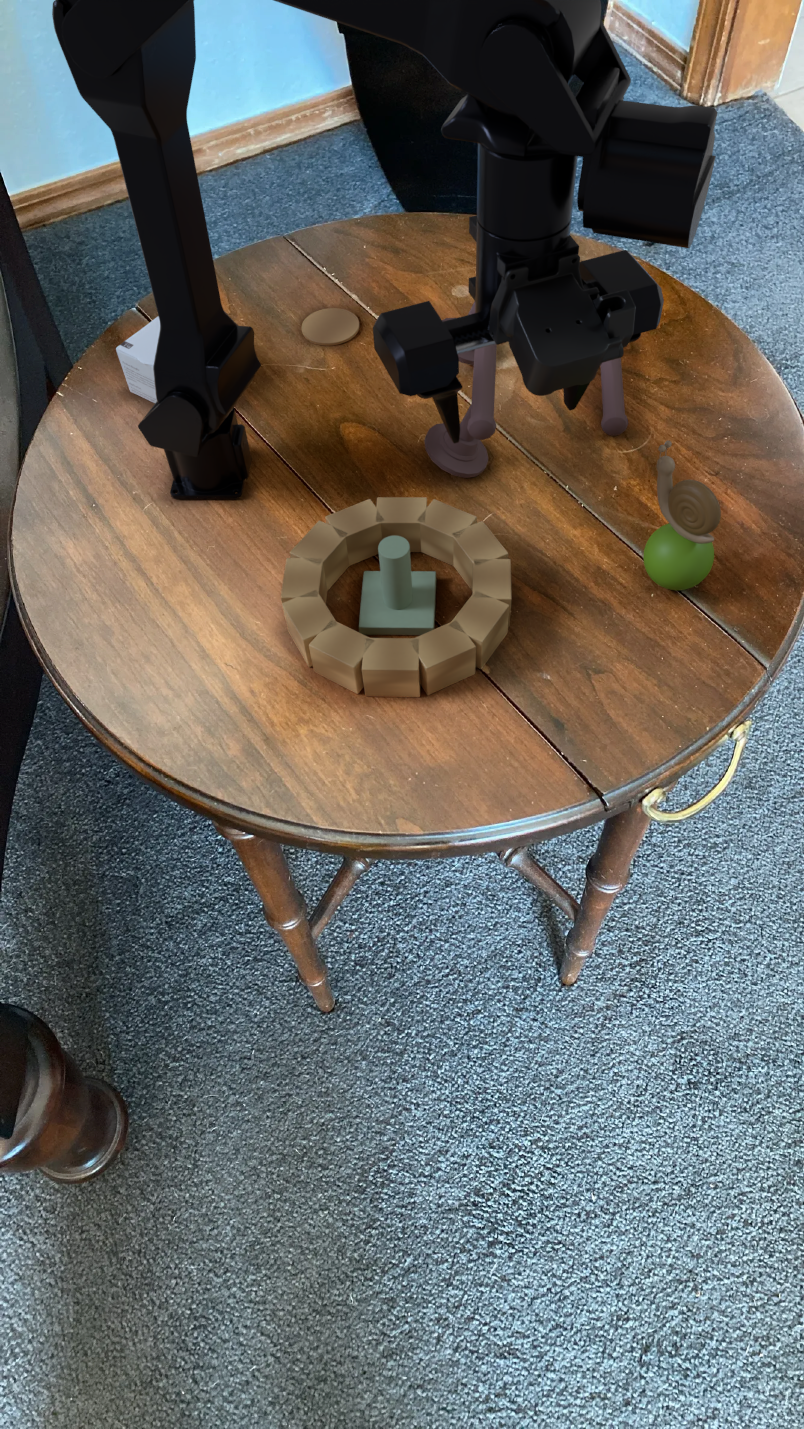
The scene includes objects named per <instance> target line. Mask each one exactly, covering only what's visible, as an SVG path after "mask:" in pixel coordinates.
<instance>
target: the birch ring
mask: <svg viewBox="0 0 804 1429" xmlns="http://www.w3.org/2000/svg"><path fill="white" fill-rule="evenodd" d="M324 519H325V522H324V521H323V520H318V521H317V522H316V523H315V524H314V525H313V526H312V527H311V529H309V531H308V532H306V533H305V535H304V536H303V537H302V538H301V539H300V540H299V541H298V542H297V544H296V545H295V546H294V547H292V549H291V550H290V551H289V556H290V557H286V560H285V565H284V573H283V579H282V585H281V590H280V591H281V592H280V602H281V607H282V611H283V617H284V620H285V624H286V628H287V632H288V633H289V635H290V637H291V639H292V641H293V642H294V644H295V646H296V648H297V649H298V651H299V653H300V655H301V657H302V658H303V660H304V662H305V664H306V666H307V667H308V668H311V667H312V668H313V672H314V673H316V674H317V675H319V676H321V677H323V678H325V679H327V680H329V681H331V682H333V683H335V684H337V685H339V686H341V687H343V688H345V689H347V690H348V691H351V692H353V693H354V694H357V695H359V694H360V693H361V691H362V690H363V689H364V695H365V697H385V698H387V697H390V698H391V697H392V698H395V697H396V698H420V697H421V687H422V689H423V691H424V693H425V694H426V695H427V696H430V695H432V694H435V693H436V692H439V691H441V690H443V689H445V688H447V687H450V686H452V685H454V684H456V683H459V682H461V681H463V680H465V679H467V678H469V677H472V676H474V675H476V668H477V669H479V670H482V669H483V667H484V666H485V665H486V663H487V662H488V661H489V659H490V658H491V657H492V655H493V654H494V652H495V651H496V649H497V648H498V647H499V646H500V644H501V643H502V642H503V640H504V639H505V637H506V636H507V634H508V631H509V630H508V629H509V628H510V624H511V613H512V612H511V611H512V559H511V558H509V551H508V550H507V549H506V548H505V547H504V546H503V544H502V543H501V541H499V539H498V538H497V537H496V535H494V533H493V532H492V530H491V529H490V528H489V527H488V525H487V524H486V523H485V521H483V520H480V521H478V516H477V515H474V514H472V513H469V512H467V511H465V510H463V509H460V508H457V507H455V506H452V505H450V504H447V503H445V502H443V501H440V500H438V499H436V498H434V499H432V500H431V502H430V503H429V504H428V497H426V496H425V497H423V496H421V497H418V496H417V497H415V496H413V497H411V496H407V497H406V496H405V497H404V496H400V497H399V496H395V497H394V496H384V497H382V496H380V497H378V496H377V497H376V505H375V504H374V502H373V501H372V499H371V498H368V499H366V500H363V501H361V502H358V503H356V504H353V505H350V506H348V507H346V508H343V509H341V510H340V509H339V510H338V511H336V512H332V513H330V514H328V515H326V516H324ZM388 536H401V537H403V538H405V539H406V540H407V541H408V542H409V545H410V553H422V554H425V555H427V556H429V557H431V558H434V559H436V560H438V561H441V562H443V563H445V564H448V565H450V566H452V567H454V569H455V570H456V571H457V573H458V574H459V576H460V577H461V578H462V579H463V581H464V582H465V583H466V585H467V586H468V588H469V589H470V591H471V593H472V594H471V596H470V597H469V598H468V599H467V601H466V602H465V603H464V605H463V606H462V607H461V609H460V610H459V611H458V613H457V614H456V615H455V617H454V618H453V619H452V620H451V621H450V622H448V623H445V624H443V625H441V626H439V627H437V628H434V630H432V631H429V632H427V633H425V634H423V635H417V636H416V637H412V638H411V637H369V636H368V635H363V634H361V633H359V631H357V630H356V629H353V628H351V627H349V626H347V625H345V624H342V623H340V622H338V621H337V620H336V618H335V617H334V615H333V614H332V611H331V610H330V608H329V607H328V606H327V599H328V591H329V590H330V589H331V588H332V587H333V585H334V584H335V583H336V582H337V581H338V580H339V579H340V577H342V575H343V574H344V573H345V572H346V570H347V569H348V568H349V567H351V566H352V565H353V566H354V565H355V564H358V563H360V562H362V561H365V560H367V559H370V558H372V557H375V556H376V555H379V551H378V546H379V543H380V542H381V541H382V540H383V539H384V538H386V537H388Z"/></svg>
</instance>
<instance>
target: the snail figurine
mask: <svg viewBox="0 0 804 1429" xmlns="http://www.w3.org/2000/svg"><path fill="white" fill-rule="evenodd" d="M672 445H673V443H672V441H671V440H666V441H665V442H664V444H660V445H659V447H658V450H657V451H658V452H659V458H658V459H657V461H656V462H657V463H656V471H657V477H656V478H657V479H656V493H657V501H658V506H659V510H660V512H661V515H662V516H663V517H664V519H665V520H666V521H667V522H668V523H666V524H663V525H661V526H660V527H659V528H657V529H656V530H654V532H653V533H651V535H650V536H649V538H648V539H647V541H646V544H645V545H644V549H643V555H642V556H643V558H642V560H643V565H644V568H645V571H646V573H647V575H648V577H649V578H650V580H652V581H653V582H654V583H655V584H656V585H658V586H659V587H661V588H663V589H666V590H669V591H685V590H688V589H692V588H693V587H696V586H697V585H699V584H700V583H701V582H703V581H704V580H705V579H706V577H707V576H708V575H709V573H711V570H712V568H713V565H714V562H715V561H714V560H715V548H714V544H713V542H714V541H715V537H714V536H713V535H712V534H711V533H712V532H714V531H715V530H716V529H717V528H718V526H719V525H720V521H721V517H722V511H721V510H722V509H721V505H720V501H719V500H718V498H717V496H716V495H715V492H713V490H712V489H711V488H710V487H709V486H707V485H706V484H705V483H703V482H701V481H699V480H695V479H684V480H683V479H682V480H681V481H678V482H677V483H675V485H674V483H673V482H674V480H673V473H674V471H675V469H676V462H675V460H674V459H673V457H672V456H669V455H667V451H668V449H670V448H671V447H672ZM662 453H664V455H662Z"/></svg>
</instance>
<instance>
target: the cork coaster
mask: <svg viewBox="0 0 804 1429" xmlns="http://www.w3.org/2000/svg"><path fill="white" fill-rule="evenodd" d="M359 331H360V320H359V318H358V317H357V315H355V313H353V311H350V310H348V309H344V308H339V307H329V308H323V309H319V310H316V311H313V312H312V313H310V314H309V315H308V316H306V317H305V319H304V320H303V321H302V324H301V333H302V335H303V337H304V338H305V340H307V341H308V342H310V343H312V344H315V345H319V346H325V347H326V346H327V347H328V346H329V347H330V346H337V345H340V344H344V343H346V342H349V341H350V340H352V339H354V337H355V336H356V335H357V334H358V333H359Z"/></svg>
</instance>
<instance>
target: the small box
mask: <svg viewBox="0 0 804 1429" xmlns="http://www.w3.org/2000/svg"><path fill="white" fill-rule="evenodd" d="M159 333H160V320H159V316H156V317H155V318H154V319H152V320H151V321H150V322H149V323H147V324H146V325H145V326H143V327H141V329H139V330H138V331H137V332H135V333H133V335H131V336H130V337H128V338H127V339H125V340H123V342H122V343H120V344H119V345H118V346H116V348H115V351H116V355H117V357H118V361H119V363H120V366H121V369H122V372H123V375H124V377H125V380H126V384H127V387H128V389H129V392H130V393H132V394H135V395H137V396H139V397H141V398H143V399H145V400H147V401H149V402H151V403H152V404H155V403H156V402H157V399H156V391H155V381H154V370H153V366H154V360H155V355H156V349H157V344H158V338H159Z"/></svg>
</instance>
